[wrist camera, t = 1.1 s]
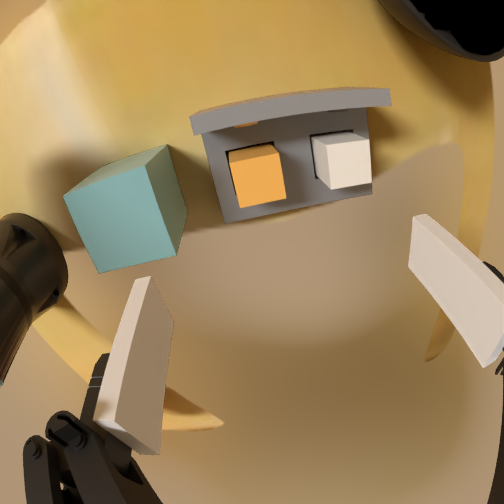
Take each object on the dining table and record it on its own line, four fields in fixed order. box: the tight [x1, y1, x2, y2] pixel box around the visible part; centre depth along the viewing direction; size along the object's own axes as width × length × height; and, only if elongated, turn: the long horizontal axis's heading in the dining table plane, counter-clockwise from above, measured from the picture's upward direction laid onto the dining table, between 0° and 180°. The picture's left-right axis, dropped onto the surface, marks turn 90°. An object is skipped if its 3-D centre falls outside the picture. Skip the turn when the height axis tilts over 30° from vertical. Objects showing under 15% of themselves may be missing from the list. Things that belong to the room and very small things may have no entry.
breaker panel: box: [189, 87, 391, 224], centre depth 25 cm, size 16×12×8 cm
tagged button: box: [229, 143, 286, 208], centre depth 25 cm, size 4×4×5 cm
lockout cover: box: [63, 144, 188, 273], centre depth 26 cm, size 8×8×9 cm
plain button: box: [310, 131, 372, 190], centre depth 25 cm, size 4×4×5 cm
